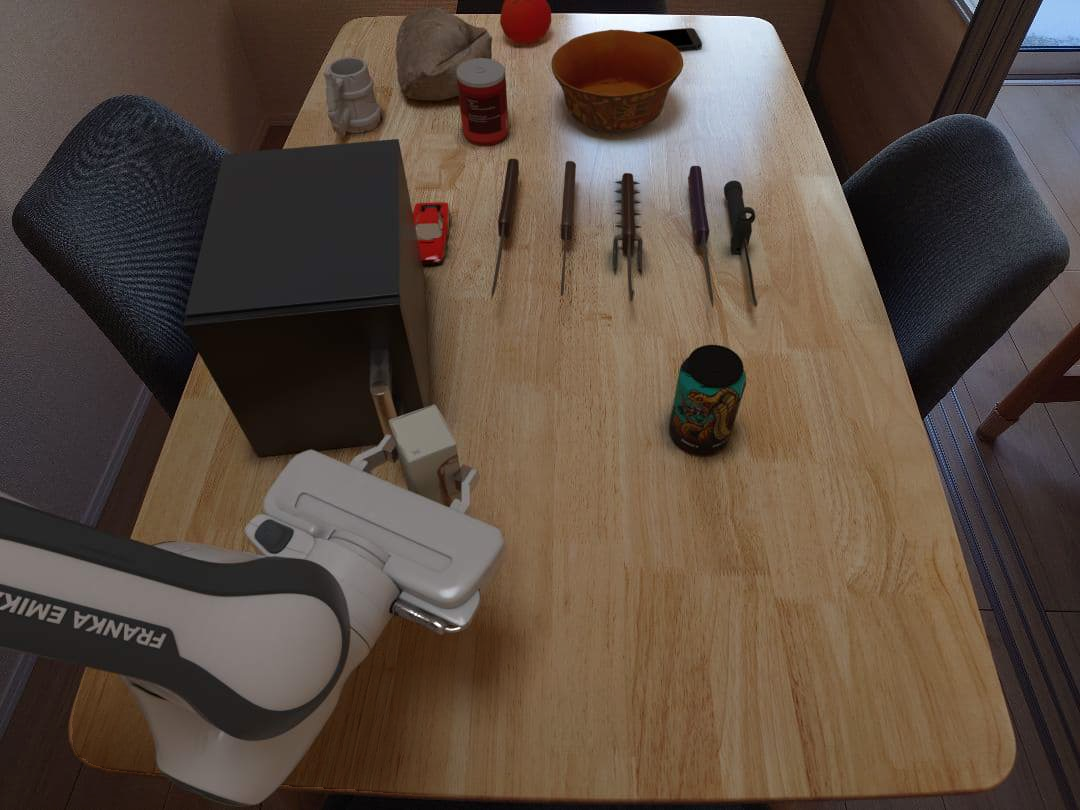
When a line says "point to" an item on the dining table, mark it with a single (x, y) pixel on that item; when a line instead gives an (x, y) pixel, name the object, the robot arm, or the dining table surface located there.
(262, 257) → the cupboard
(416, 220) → the toy car
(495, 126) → the canned food
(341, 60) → the mug
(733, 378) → the beverage can
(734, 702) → the dining table surface
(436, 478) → the white carton box
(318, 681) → the robot arm
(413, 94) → the rock
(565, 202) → the knife set
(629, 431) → the dining table surface
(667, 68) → the bowl
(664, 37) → the smartphone
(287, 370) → the cupboard door
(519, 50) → the dining table surface
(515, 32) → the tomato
